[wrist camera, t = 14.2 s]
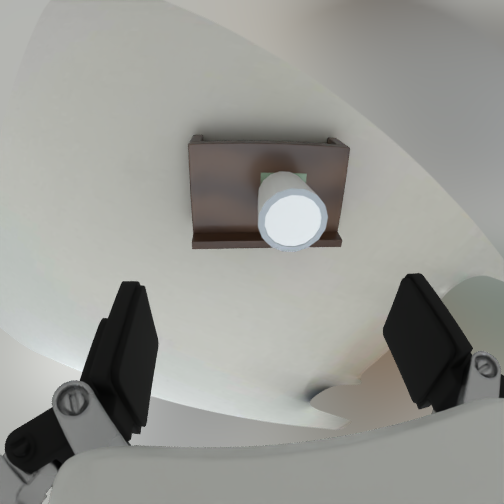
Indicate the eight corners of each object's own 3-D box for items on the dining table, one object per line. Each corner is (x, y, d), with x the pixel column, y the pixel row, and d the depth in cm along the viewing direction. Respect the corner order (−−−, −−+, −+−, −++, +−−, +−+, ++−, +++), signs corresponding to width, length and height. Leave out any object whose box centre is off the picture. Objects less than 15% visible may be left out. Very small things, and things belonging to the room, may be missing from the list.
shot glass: (270, 230, 38) (278, 263, 32) (241, 184, 35) (244, 211, 29) (320, 203, 36) (338, 232, 31) (295, 155, 33) (310, 175, 27)
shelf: (193, 135, 36) (185, 148, 30) (336, 138, 37) (356, 152, 31) (197, 221, 42) (192, 249, 36) (326, 220, 44) (341, 246, 38)
